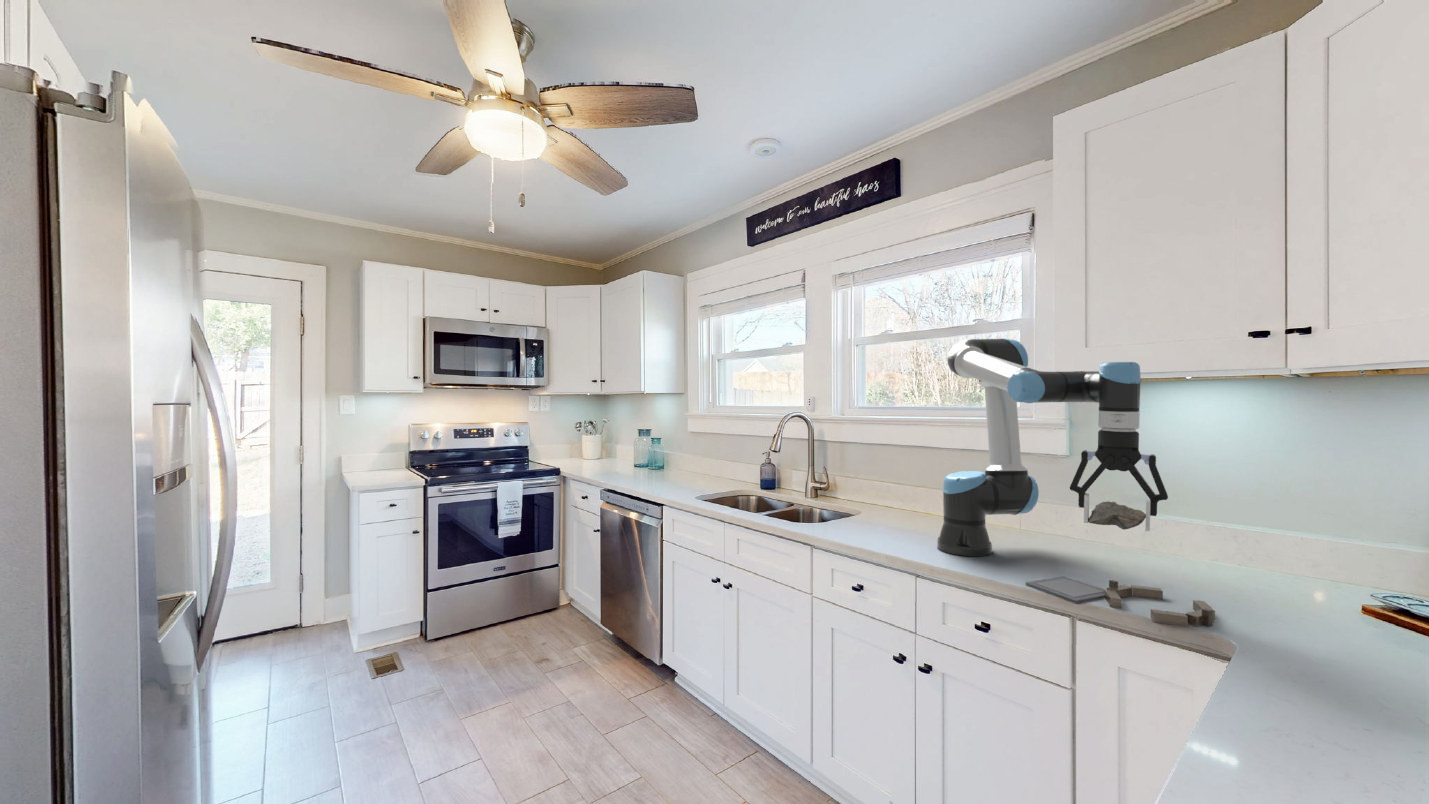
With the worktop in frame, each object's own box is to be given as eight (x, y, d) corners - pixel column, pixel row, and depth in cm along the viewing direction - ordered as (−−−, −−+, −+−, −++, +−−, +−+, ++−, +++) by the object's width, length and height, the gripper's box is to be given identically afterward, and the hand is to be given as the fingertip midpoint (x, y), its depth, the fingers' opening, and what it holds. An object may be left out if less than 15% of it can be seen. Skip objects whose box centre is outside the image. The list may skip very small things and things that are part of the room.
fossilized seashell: (1122, 513, 133) (1125, 489, 130) (1157, 540, 123) (1161, 514, 120) (1078, 522, 133) (1080, 498, 130) (1110, 550, 123) (1112, 524, 120)
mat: (1025, 584, 137) (1025, 581, 136) (1063, 578, 141) (1063, 575, 141) (1075, 603, 124) (1075, 600, 124) (1115, 595, 129) (1115, 592, 129)
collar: (1086, 598, 127) (1086, 584, 127) (1134, 588, 133) (1134, 575, 133) (1183, 632, 109) (1183, 616, 109) (1235, 620, 114) (1236, 605, 114)
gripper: (1056, 428, 130) (1054, 521, 131) (1185, 433, 115) (1182, 538, 116) (1060, 426, 136) (1059, 514, 137) (1184, 431, 121) (1181, 530, 122)
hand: (1116, 525), depth 126 cm, fingers closed on fossilized seashell, 11 cm apart
